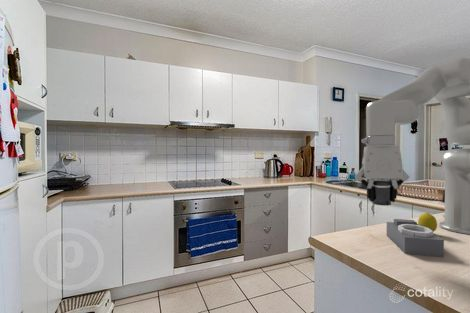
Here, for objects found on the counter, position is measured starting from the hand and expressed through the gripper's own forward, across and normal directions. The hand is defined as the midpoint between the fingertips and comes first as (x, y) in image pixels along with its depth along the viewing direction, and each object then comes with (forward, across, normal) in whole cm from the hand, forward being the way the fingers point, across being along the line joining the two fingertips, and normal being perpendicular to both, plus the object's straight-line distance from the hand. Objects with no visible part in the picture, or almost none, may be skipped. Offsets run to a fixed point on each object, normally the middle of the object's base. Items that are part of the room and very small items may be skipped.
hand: (381, 200), depth 74 cm
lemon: (+17, +21, +21) cm, 35 cm away
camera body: (+17, +11, +8) cm, 22 cm away
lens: (+1, 0, 0) cm, 1 cm away
